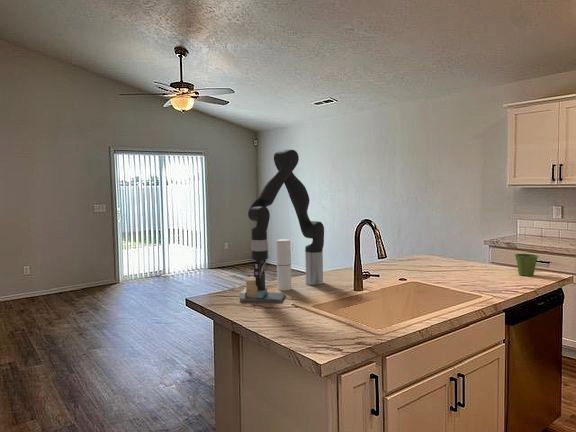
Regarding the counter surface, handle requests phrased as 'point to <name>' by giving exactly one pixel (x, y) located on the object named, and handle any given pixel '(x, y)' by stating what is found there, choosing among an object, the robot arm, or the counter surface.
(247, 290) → the block
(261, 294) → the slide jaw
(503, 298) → the counter surface
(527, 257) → the plant pot
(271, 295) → the vise
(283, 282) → the cylindrical container
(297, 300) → the counter surface
